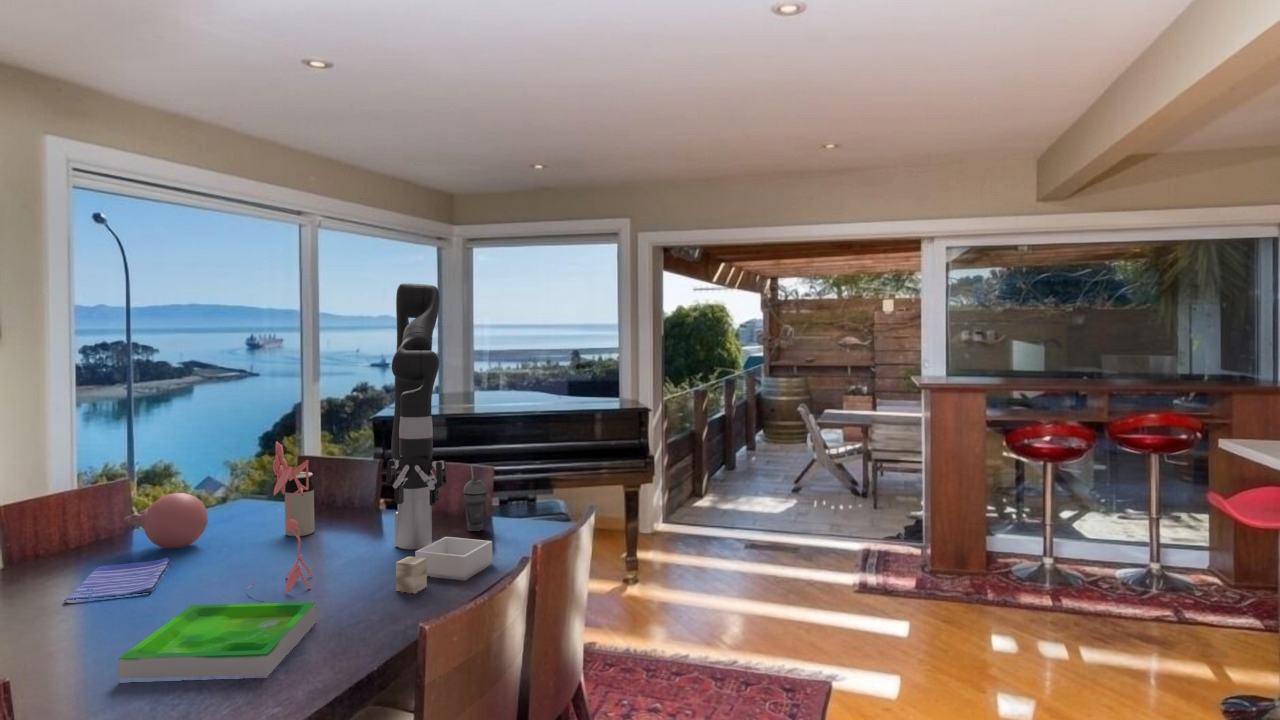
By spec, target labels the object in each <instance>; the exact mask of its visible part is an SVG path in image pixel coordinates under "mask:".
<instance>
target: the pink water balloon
mask: <svg viewBox="0 0 1280 720" xmlns="http://www.w3.org/2000/svg"><path fill="white" fill-rule="evenodd" d="M123 521H124V522H128V523H129V524H130V525H132V526H133V527H137V526H138V527H140V528H142V529H143V530H144V533H145V536H146V537H147V539H148V540H149V541H150V542H151V543H152V544H154V545H155V546H157V547H160V548H163V549H169V550H174V549H176V550H177V549H182V548H185V547H188V546H190V545H192V544H194V543H195V542H196V541H197V540H198V539H199V538H201V536H202V535H203V534H204V532H205V530H206V528H207V525H208V522H209V516H208V510H207V508H206V506H205V504H204V503H203V502H202V500H201V499H199V498H198V497H197V496H194V495H192V494H189V493H184V492H175V493H169V494H165V495H164V496H160V497H159V498H158V499H157V500H155V501H154V502H152V504H151V505H150V506H148V507H146V508H145V509H142V510H141V511H139V512H137V513H132V514H131V515H128V516H125V517H123Z"/></svg>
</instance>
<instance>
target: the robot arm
mask: <svg viewBox="0 0 1280 720" xmlns="http://www.w3.org/2000/svg"><path fill="white" fill-rule="evenodd" d="M395 296H396V297H395V306H396V309H395V310H396V312H395V313H396V349H395V350H396V351H395V353H394V355H393V357H392V361H391V372H392V374H393V376H394V414H393V423H392V424H393V425H392V432H391V433H392V434H391V442H390V443H391V447H390V448H391V459H389V460H387V462H386V475H385V476H386V478H385V479H386V480H385V484H386V486H391V487H393V497H394V498H393V499H394V502H395V503H396V505H397V511H396V512H395V513H394V547H398V548H399V549H402V550H419V549H421V548H423V547H425V546H427V545H429V544H432V543H433V542H432V540H433V539H432V534H433V533H432V529H433V528H432V525H433V524H432V507H434V506H436V505H437V503H439V500H440V498H439V497H440V492H439V490H440V488H442V487H445V486H446V485H447V465H446V461H445V459H444V460H443V459H442V460H439V461H434V460H433V452H434V450H433V449H434V448H433V447H434V446H433V445H434V441H433V439H434V437H433V435H434V434H433V433H434V430H433V418H432V399H433V397H432V396H433V389H434V387H435V386H434V385H435V383H436V378H437V375H438V373H439V369H440V359H439V356H438V354H437V353H435V352H434V351H432V350H433V334H434V330H435V327H436V323H437V320H438V317H439V310H440V298H441V297H440V292H439V289H438V287H436V286H435V285H432V284H425V283H410V282H405V283H403V282H402V283H400V284H399V285H398V286H397V289H396V295H395ZM409 319H413V320H411V321H409ZM398 467H399V469H400V470H401V472H400V473H399V475H397V470H398ZM433 468H434V470H435V471H436V475H435V473H434V472H433V471H432V469H433Z"/></svg>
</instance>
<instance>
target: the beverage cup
mask: <svg viewBox="0 0 1280 720" xmlns="http://www.w3.org/2000/svg"><path fill="white" fill-rule="evenodd" d="M470 471H471V472H470V473H471V474H470V475H471V480H469V481H468V482H466V484H465V485H464V487H463V492H462V494H463V499H464V505H465V507H464V508H465V516H466V517H465V518H466V524H467V531H468V530H469V531H468V532H470V531H478V532H481V531H480V530H482V529H483V530H484V523H485V521H484V520H485V508H486V499H487V495H488V494H487V493H488V491H487V487H486V485H485V483H484V481H482V480H481V479H474V472H473V465H472V464H470ZM483 530H482V531H483Z"/></svg>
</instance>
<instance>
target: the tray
mask: <svg viewBox="0 0 1280 720" xmlns="http://www.w3.org/2000/svg"><path fill="white" fill-rule="evenodd" d="M315 623H316V624H317V601H308V602H305V601H304V602H303V601H302V602H301V601H300V602H268V603H266V602H264V603H261V602H260V603H225V604H193V605H192V604H191V605H190V606H189V607H187V608H186V609H184V610H183V611H182V612H180V613H179V614H177V615H176V616H175V617H174V618H172V619H171V620H170V621H168V622H167V623H166V624H164V625H162V626H161V627H160V628H157V630H155V631H154V632H152V633H151V634H150V635H149V636H147V637H146V638H144V639H143V640H142V641H140V642H139V643H137V644H136V645H134V647H133V646H132V648H130V649H129V650H128V651H127V652H125V653H123V655H121V656H120V657H118V663H117V666H118V679H119V678H123V679H125V678H157V677H159V678H161V677H192V676H193V677H201V676H268V675H269V674H270V673H271V672H272V670H273V669H274V668H275V667H276V666H277V665H278V664H279V663H280V662H281V661H282V659H283V658H284V657H285V656H286V655H287V654H288V653H289V652H290V650H291V649H292V648H293V647H294V646H295V645H296V644H297V643H298V642H299V640H300V639H301V638H302V637H303V636H304V635H305V634H306V633H307V632H308V631H309V630H310V629H311V627H312V628H314V626H315V625H316V624H315ZM314 624H315V625H314ZM313 625H314V626H313ZM311 630H312V629H311ZM311 630H310V631H311ZM310 631H309V632H310ZM309 632H308V633H309ZM308 633H307V634H308ZM307 634H306V635H307ZM306 635H305V636H306ZM305 636H304V637H305ZM299 643H300V642H299ZM299 643H298V644H299ZM298 644H297V645H298ZM290 653H291V652H290ZM282 662H283V661H282Z"/></svg>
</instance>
